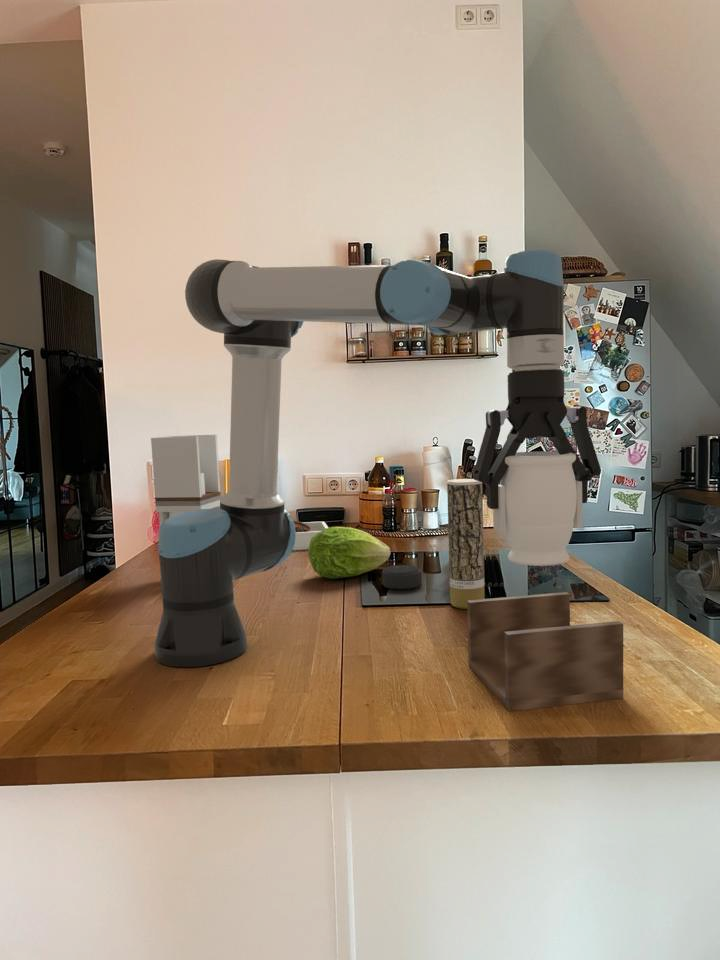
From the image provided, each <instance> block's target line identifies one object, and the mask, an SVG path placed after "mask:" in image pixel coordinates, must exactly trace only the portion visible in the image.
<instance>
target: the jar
mask: <svg viewBox="0 0 720 960" xmlns="http://www.w3.org/2000/svg"><path fill="white" fill-rule="evenodd" d="M576 454H577V453H576ZM576 454H573V453H568V454H562V455H560V454H559V453H558V451H557V450H555V451H550V450H549V451H547V450H546V451H542V450H541V451H538V450H537V451H519V452H518V451H517V452H516V454H515V456H508V457H505V463H506V464H507V465H508V466H509V467H508V468H507V470H506V472H505V474H504V476H503V477H502V479H501V481H500V483H499V485H502V486H505V511H506V533H505V534H504V535H505V538H506V540H507V543H508V544H509V546H510V547H511V550H510V551H509V553H508V554H507V558H508V561H510V562H512V563H514V564H516V565H517V564H518V565H523V566H529V567H530V566H533V567H537V566H538V567H546V566H547V567H548V566H557V565H562V564H564V563H567V562H568V561H569V560H570V558H571V557H570V554H569V553H568V551H567V550H566V549H567V546H568V545H569V543H570V541H571V538H572V534H573V530H574V527H573V524H574V521H573V520H574V516H575V511H576V503H577V490H576V481H575V475H574V471H573V468H572V463H573V462H574V461H575V460H576Z"/></svg>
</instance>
